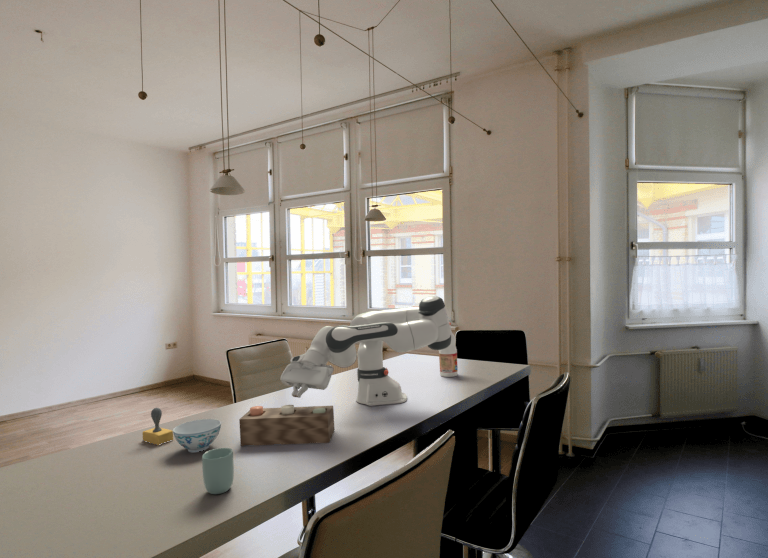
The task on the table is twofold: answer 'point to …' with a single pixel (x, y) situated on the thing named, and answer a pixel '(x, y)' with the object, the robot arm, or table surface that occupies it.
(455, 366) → the fruit juice
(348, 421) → the table surface
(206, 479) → the cup
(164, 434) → the rubber stamp
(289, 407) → the cream button
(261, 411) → the terracotta button
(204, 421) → the chinaware
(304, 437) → the console
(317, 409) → the sage button
